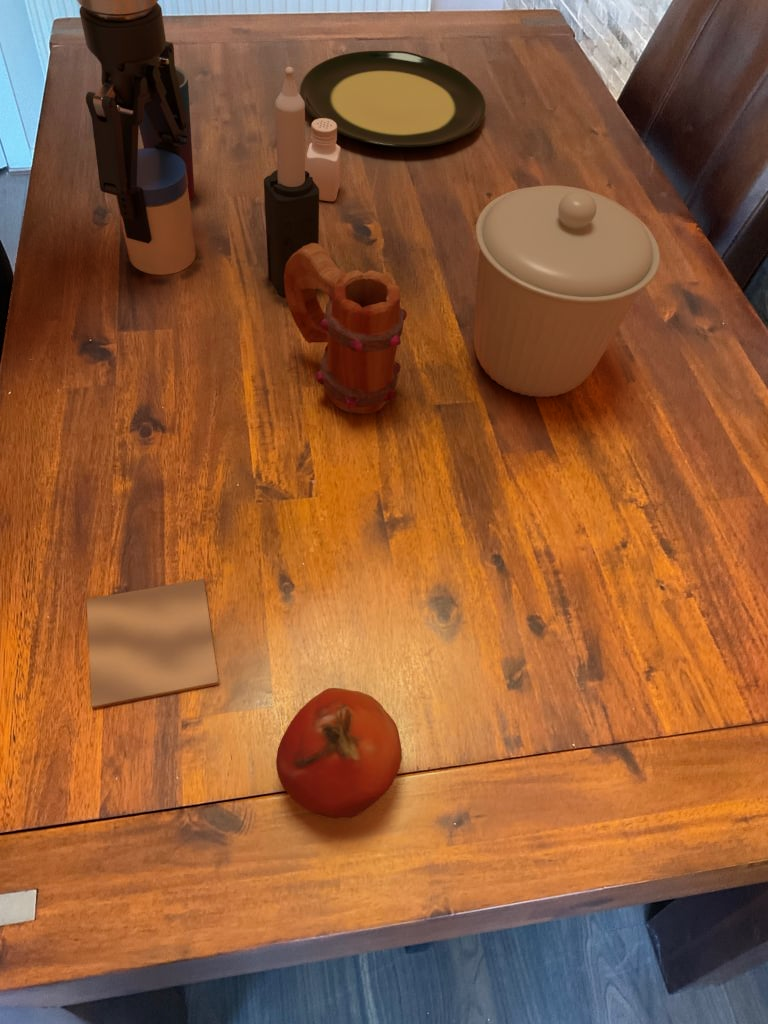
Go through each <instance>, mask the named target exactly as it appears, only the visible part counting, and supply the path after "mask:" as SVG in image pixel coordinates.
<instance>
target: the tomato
mask: <svg viewBox="0 0 768 1024" xmlns="http://www.w3.org/2000/svg"><path fill="white" fill-rule="evenodd" d="M276 751H277V752H276V759H275V764H276V766H275V767H276V772H277V776H278V779H279V782H280V784H281V786H282V788H283V790H285V792H286V793H287V795H288V797H290V799H291V800H293V802H295V804H296V805H298V806H299V807H300V808H302V809H305V810H306V811H307V812H310V813H312V814H313V815H315V816H319V817H322V818H327V819H333V820H334V819H335V820H336V819H353V818H354V817H357V816H358V815H360V814H362V813H364V812H365V811H366V810H368V809H369V808H370V807H372V806H373V805H374V804H376V802H378V801H379V800H380V799H381V798H382V797H383V796H384V795H386V793H387V792H388V791H389V790H390V788H392V786H393V784H394V782H395V779H396V777H397V776H398V773H399V771H400V769H401V764H402V759H403V754H402V753H403V752H402V751H403V750H402V744H401V738H400V733H399V729H398V726H397V724H396V721H395V720H394V719H393V718H392V716H391V715H390V714H389V713H388V712H387V711H386V709H385V708H384V707H383V706H382V704H381V703H380V702H379V701H378V700H377V699H376V698H374V697H373V696H372V695H369V694H367V693H365V692H362V691H359V690H352V689H346V688H340V687H329V688H326V689H324V690H322V691H321V692H320V693H318V694H316V695H314V696H313V697H312V698H311V699H310V700H309V701H308V702H306V703H305V704H304V705H303V706H302V707H301V709H299V710H298V711H297V713H296V714H295V716H294V717H293V718H292V720H291V721H290V723H289V725H288V726H287V728H286V729H285V732H284V733H283V735H282V738H281V739H280V742H279V744H278V748H277V750H276Z"/></svg>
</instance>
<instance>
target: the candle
mask: <svg viewBox="0 0 768 1024" xmlns="http://www.w3.org/2000/svg"><path fill="white" fill-rule="evenodd" d="M284 73H285V78H284V80H283V81H284V82H283V85H282V88H281V91H280V93H279V94H278V96H277V97H276V99H275V102H274V108H275V139H276V140H275V141H276V170H274V171H273V172H272V173H271V174H269V175H267V176H266V177H265V178H264V179H263V195H264V215H265V217H264V218H265V237H266V258H267V259H266V260H267V277H268V280H269V281H271V282H272V284H273V286H274V287H275V289H276V291H277V294H278V295H279V296H280V297H283V298H286V294H285V286H284V273H285V266H286V264H287V262H288V260H289V259H290V257H291V256H292V255H293V254H294V253H295V252H297V251H298V250H299V249H301V248H302V247H303V246H306V245H308V244H310V243H317V244H319V242H320V241H319V239H320V233H319V232H320V200H319V188H318V187H317V185H316V184H315V183H314V181H313V178H312V177H310V176H309V173H308V172H307V170H306V108H305V103H304V100H303V99H302V97H301V96H300V92H299V90H298V88H297V84H296V81H295V77H294V73H295V70H294V68H293V67H292V66H287V67H286V68H285V69H284ZM319 245H320V244H319Z"/></svg>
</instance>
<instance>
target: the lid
mask: <svg viewBox="0 0 768 1024" xmlns="http://www.w3.org/2000/svg"><path fill="white" fill-rule="evenodd" d="M126 180H127V179H126ZM187 186H188V179H187V171H186V165H185V163H184V161H183V160H182V159H181V158H180V157H179V156H177V155H176V154H174V153H172V152H169V151H166V150H162V149H154V148H144V147H143V148H138V160H137V187H141V188H142V191H143V196H144V201H145V205H159V204H164V203H168V202H171V201H173V200H175V199H177V198H179V197H180V196H181V195H182V194H183V193H184V192H185V191H186V189H187Z"/></svg>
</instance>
